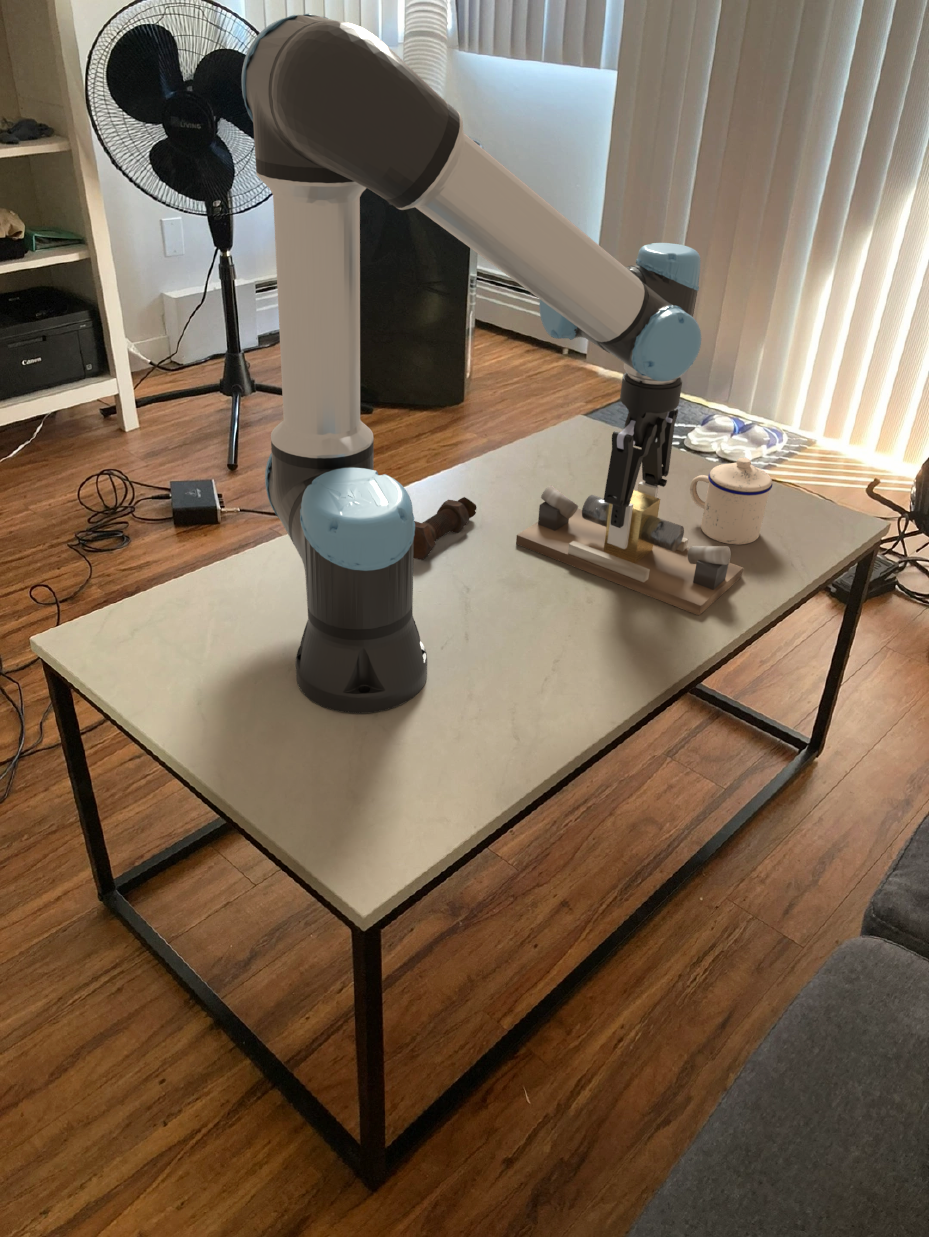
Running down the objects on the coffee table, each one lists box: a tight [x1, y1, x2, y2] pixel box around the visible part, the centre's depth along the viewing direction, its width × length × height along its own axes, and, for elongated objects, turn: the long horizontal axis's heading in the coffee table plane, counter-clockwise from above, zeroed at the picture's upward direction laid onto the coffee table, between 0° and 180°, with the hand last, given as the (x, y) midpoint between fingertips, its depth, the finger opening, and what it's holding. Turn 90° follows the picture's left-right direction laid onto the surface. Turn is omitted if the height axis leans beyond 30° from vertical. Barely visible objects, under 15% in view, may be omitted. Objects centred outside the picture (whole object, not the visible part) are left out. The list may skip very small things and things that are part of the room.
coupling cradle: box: [515, 484, 744, 616], centre depth 137 cm, size 13×29×7 cm, turn 52°
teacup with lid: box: [689, 457, 773, 545], centre depth 145 cm, size 12×9×12 cm
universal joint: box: [581, 489, 685, 564], centre depth 136 cm, size 5×14×8 cm, turn 52°
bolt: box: [413, 496, 478, 561], centre depth 142 cm, size 6×5×15 cm
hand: (629, 535), depth 137 cm, fingers open, 6 cm apart
